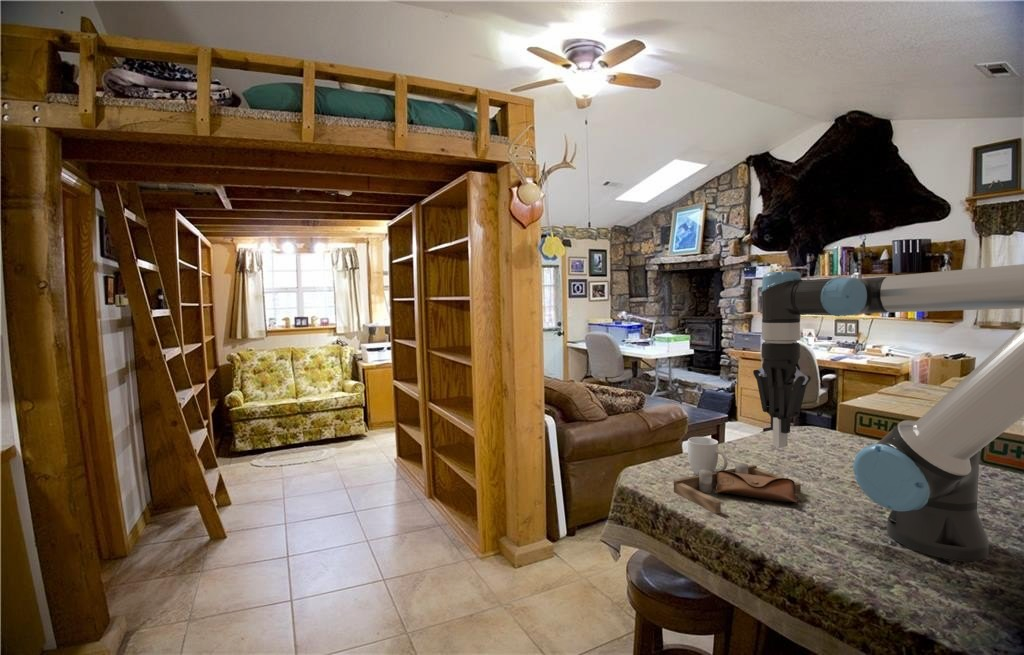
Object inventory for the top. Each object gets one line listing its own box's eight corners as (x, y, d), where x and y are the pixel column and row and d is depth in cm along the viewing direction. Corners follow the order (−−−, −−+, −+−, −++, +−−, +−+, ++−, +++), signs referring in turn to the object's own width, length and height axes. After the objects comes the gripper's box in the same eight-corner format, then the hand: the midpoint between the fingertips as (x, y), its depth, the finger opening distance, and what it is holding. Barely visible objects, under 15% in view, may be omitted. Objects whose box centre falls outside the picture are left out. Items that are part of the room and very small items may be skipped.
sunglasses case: (715, 491, 119) (716, 464, 123) (715, 498, 125) (716, 472, 128) (800, 503, 112) (798, 474, 115) (796, 509, 118) (794, 482, 121)
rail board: (800, 494, 120) (800, 474, 120) (715, 513, 111) (715, 492, 110) (753, 475, 133) (753, 457, 133) (673, 491, 124) (673, 472, 123)
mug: (733, 475, 134) (733, 442, 133) (720, 483, 128) (721, 448, 128) (695, 466, 141) (695, 435, 141) (682, 473, 136) (682, 440, 135)
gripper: (820, 342, 104) (819, 451, 105) (768, 339, 116) (767, 437, 117) (795, 344, 101) (794, 456, 102) (744, 340, 113) (744, 440, 114)
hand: (780, 446), depth 110 cm, fingers closed
